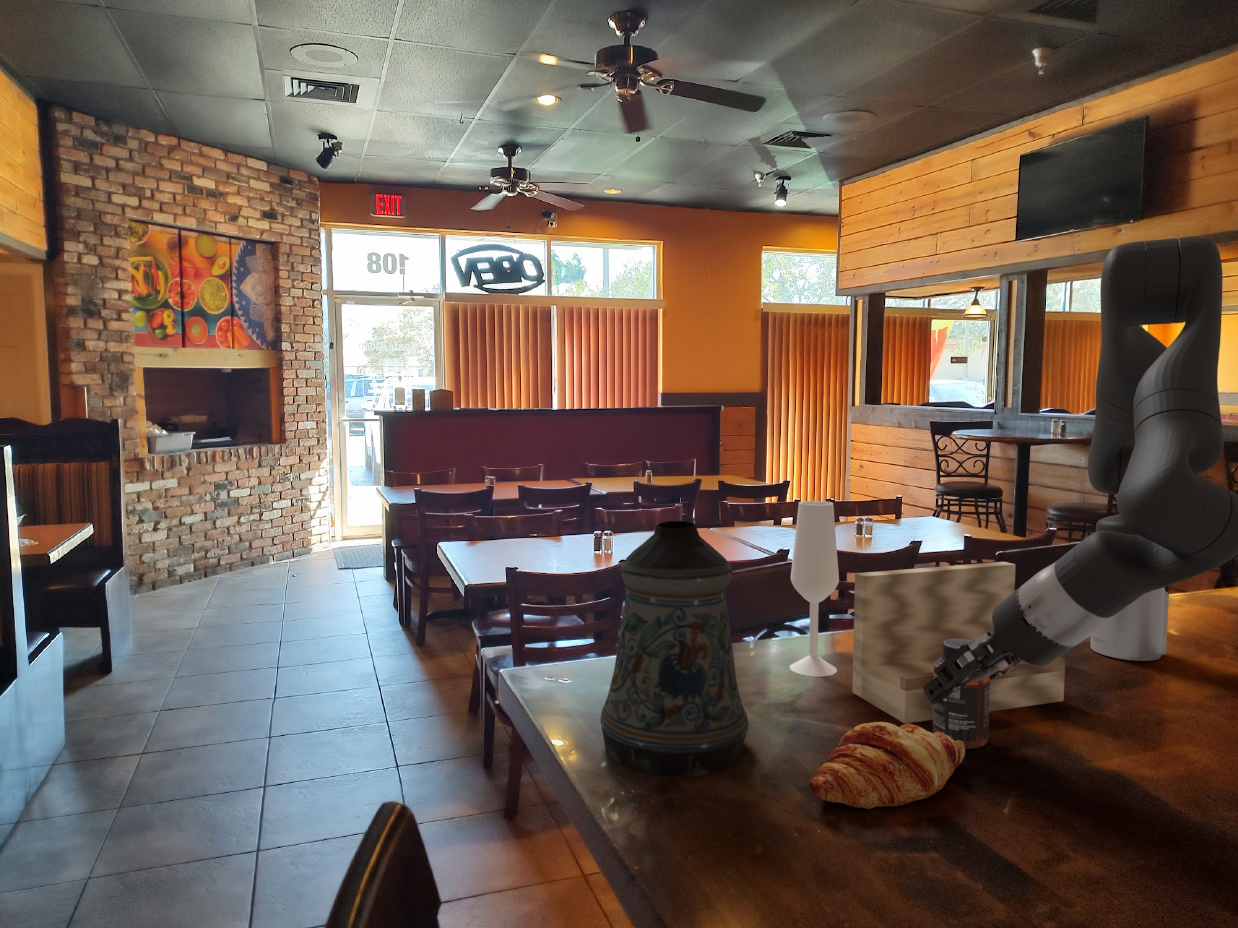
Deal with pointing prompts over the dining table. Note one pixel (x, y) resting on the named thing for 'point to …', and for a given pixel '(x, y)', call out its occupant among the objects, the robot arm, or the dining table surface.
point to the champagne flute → (814, 573)
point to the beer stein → (675, 661)
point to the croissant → (887, 765)
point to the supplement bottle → (963, 706)
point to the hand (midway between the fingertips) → (947, 690)
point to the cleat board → (935, 636)
